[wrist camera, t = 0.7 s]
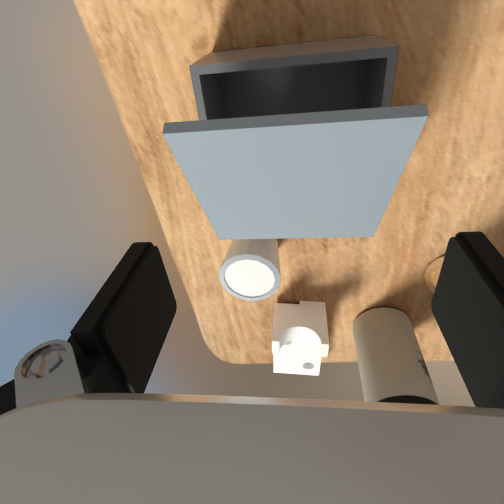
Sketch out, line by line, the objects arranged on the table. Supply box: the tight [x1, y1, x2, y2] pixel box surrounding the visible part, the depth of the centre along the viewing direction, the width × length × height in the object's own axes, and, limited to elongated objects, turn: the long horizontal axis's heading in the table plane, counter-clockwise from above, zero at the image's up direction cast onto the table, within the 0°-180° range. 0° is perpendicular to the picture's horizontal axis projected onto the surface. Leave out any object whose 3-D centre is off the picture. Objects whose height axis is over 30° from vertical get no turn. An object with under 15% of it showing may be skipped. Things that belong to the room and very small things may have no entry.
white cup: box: [219, 239, 281, 301], centre depth 39 cm, size 7×7×7 cm
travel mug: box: [353, 307, 440, 405], centre depth 41 cm, size 8×8×18 cm
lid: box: [163, 104, 428, 240], centre depth 24 cm, size 14×14×1 cm
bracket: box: [272, 301, 329, 376], centre depth 48 cm, size 13×7×8 cm, turn 2°
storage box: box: [189, 35, 399, 120], centre depth 30 cm, size 14×14×8 cm
